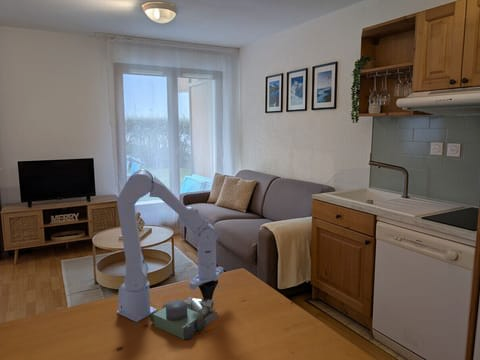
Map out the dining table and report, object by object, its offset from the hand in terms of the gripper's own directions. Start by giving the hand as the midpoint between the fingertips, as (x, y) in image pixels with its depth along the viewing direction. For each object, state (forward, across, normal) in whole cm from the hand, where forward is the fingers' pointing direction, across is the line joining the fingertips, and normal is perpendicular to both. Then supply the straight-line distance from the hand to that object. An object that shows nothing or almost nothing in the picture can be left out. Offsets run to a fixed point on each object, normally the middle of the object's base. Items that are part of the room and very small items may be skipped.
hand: (207, 301), depth 114 cm
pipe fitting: (+2, -5, 0) cm, 5 cm away
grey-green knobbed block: (+1, -11, 0) cm, 11 cm away
